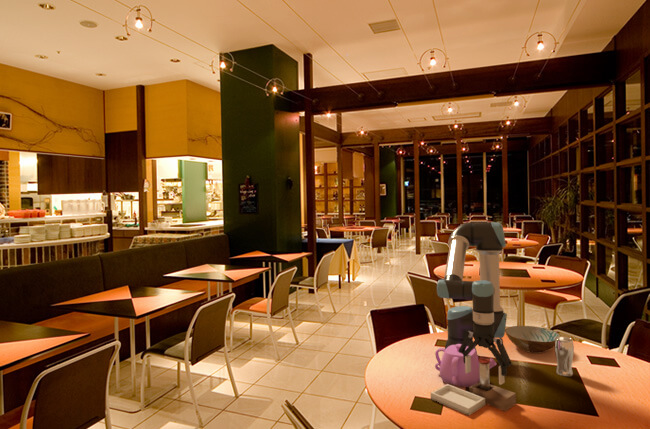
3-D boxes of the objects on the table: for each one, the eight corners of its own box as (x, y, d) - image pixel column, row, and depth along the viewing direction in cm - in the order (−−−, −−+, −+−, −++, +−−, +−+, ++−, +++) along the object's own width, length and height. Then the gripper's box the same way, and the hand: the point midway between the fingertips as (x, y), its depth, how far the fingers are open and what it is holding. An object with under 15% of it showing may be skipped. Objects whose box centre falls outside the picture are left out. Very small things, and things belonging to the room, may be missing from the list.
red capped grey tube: (476, 397, 153) (475, 358, 152) (482, 393, 156) (481, 355, 155) (487, 401, 149) (486, 362, 149) (493, 397, 152) (492, 358, 152)
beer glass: (576, 377, 167) (576, 341, 167) (558, 376, 169) (558, 341, 168) (570, 370, 174) (569, 336, 174) (552, 369, 176) (552, 335, 175)
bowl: (517, 337, 219) (516, 322, 218) (568, 348, 200) (568, 332, 200) (496, 349, 202) (496, 333, 201) (550, 362, 183) (550, 345, 183)
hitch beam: (469, 397, 153) (469, 387, 153) (480, 390, 158) (480, 380, 158) (505, 411, 142) (505, 400, 142) (516, 403, 147) (515, 393, 147)
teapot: (430, 371, 178) (429, 339, 178) (474, 366, 181) (473, 335, 181) (450, 390, 159) (449, 355, 159) (498, 385, 162) (498, 350, 162)
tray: (430, 399, 153) (430, 392, 152) (447, 390, 159) (447, 383, 159) (468, 415, 140) (468, 408, 140) (485, 405, 147) (485, 398, 147)
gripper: (449, 317, 159) (450, 370, 160) (511, 332, 140) (512, 392, 140) (459, 313, 164) (460, 365, 164) (521, 327, 144) (522, 385, 145)
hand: (484, 377), depth 152 cm, fingers open, 13 cm apart
